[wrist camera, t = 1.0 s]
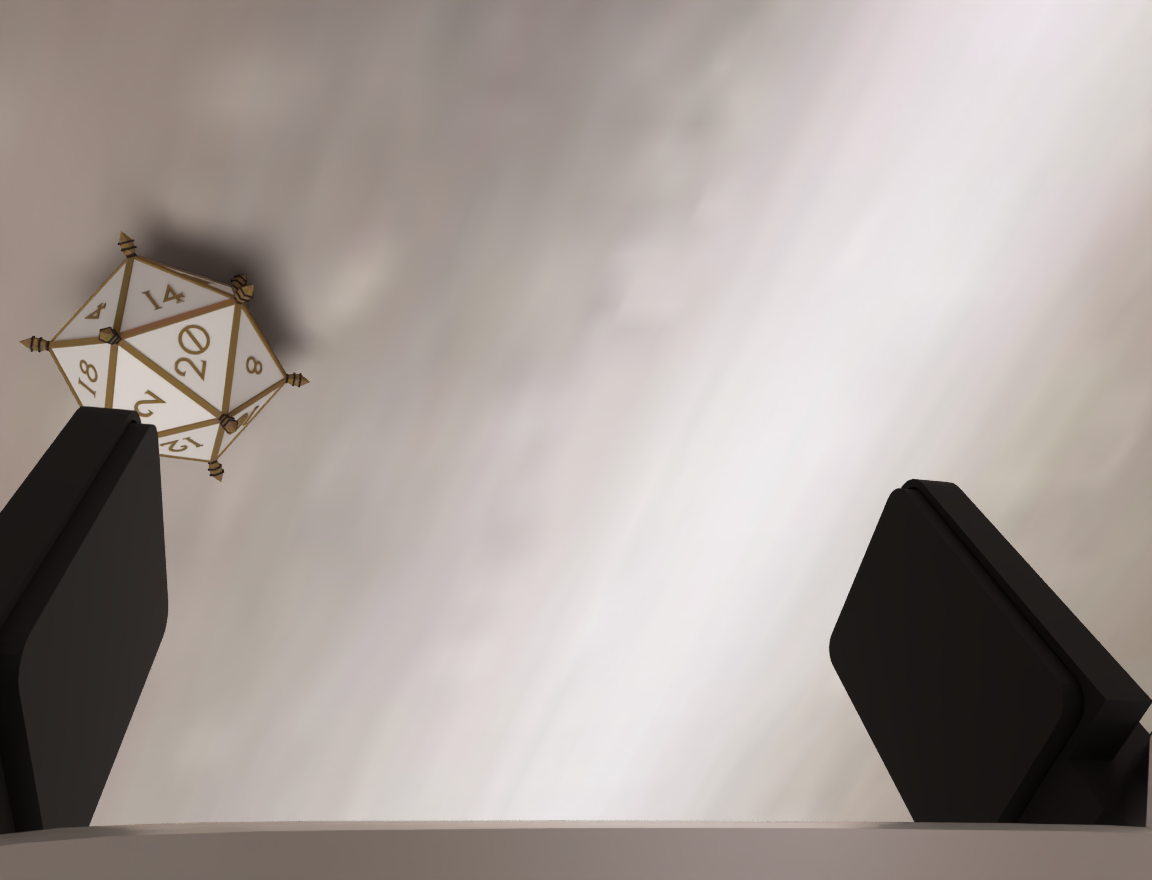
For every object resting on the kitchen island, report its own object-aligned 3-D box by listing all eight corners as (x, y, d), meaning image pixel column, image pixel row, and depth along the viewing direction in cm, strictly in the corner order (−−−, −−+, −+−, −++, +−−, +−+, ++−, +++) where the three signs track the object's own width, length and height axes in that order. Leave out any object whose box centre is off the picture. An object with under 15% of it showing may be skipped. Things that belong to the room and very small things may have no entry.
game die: (183, 257, 39) (43, 160, 29) (359, 328, 39) (277, 254, 29) (96, 444, 38) (-80, 410, 28) (274, 519, 38) (159, 512, 28)
